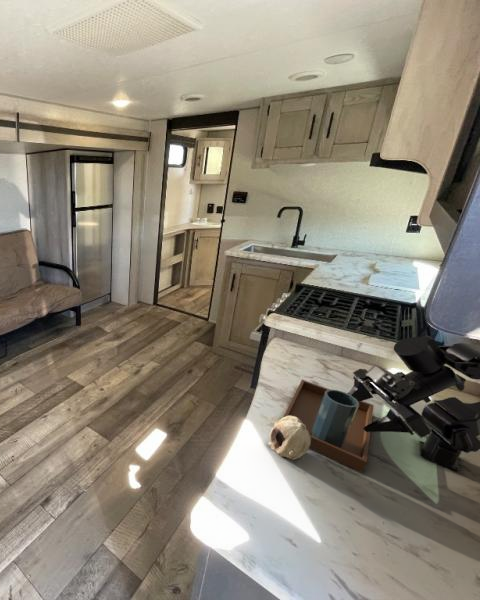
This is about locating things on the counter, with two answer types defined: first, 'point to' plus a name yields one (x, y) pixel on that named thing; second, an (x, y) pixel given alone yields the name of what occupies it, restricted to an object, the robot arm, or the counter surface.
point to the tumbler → (334, 417)
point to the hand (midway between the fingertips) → (352, 416)
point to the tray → (356, 439)
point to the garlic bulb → (290, 437)
